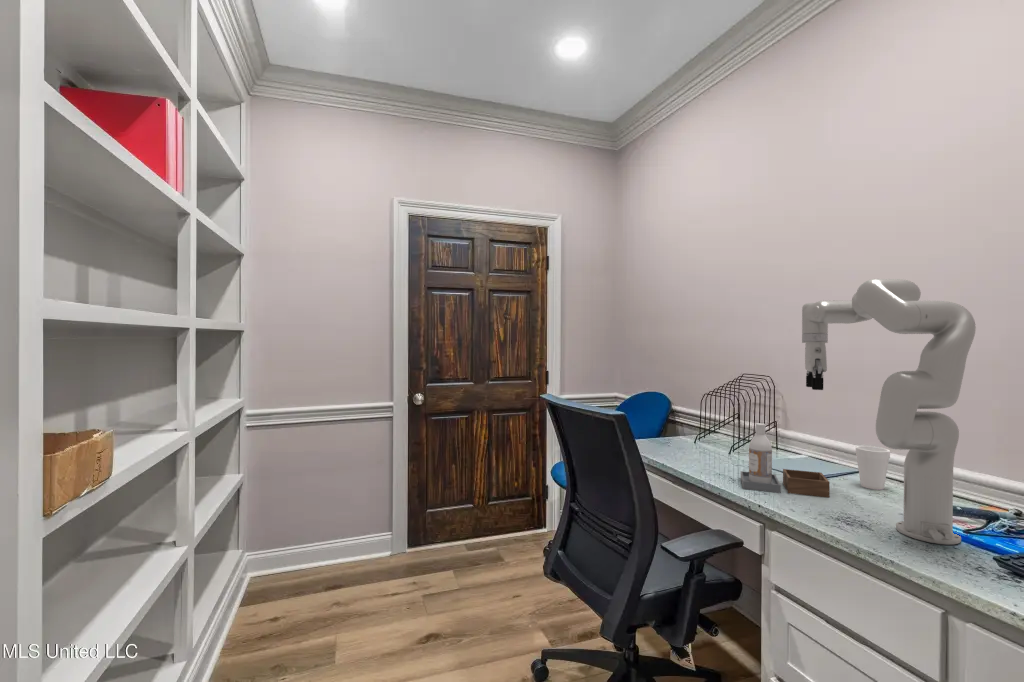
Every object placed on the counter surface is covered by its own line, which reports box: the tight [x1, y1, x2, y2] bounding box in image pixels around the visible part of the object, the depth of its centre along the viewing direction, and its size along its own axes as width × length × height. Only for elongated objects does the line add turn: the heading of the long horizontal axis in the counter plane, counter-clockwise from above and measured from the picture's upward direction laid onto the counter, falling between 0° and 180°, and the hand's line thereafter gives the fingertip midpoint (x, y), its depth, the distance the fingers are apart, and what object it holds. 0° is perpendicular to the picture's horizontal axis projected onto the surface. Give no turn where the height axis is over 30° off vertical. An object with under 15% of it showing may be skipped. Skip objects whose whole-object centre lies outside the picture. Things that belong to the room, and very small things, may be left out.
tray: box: [740, 470, 782, 494], centre depth 163 cm, size 13×11×3 cm
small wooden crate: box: [782, 468, 831, 498], centre depth 158 cm, size 11×11×5 cm
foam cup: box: [855, 445, 891, 491], centre depth 162 cm, size 10×9×13 cm
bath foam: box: [748, 422, 773, 484], centre depth 163 cm, size 7×7×20 cm
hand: (814, 388), depth 164 cm, fingers open, 9 cm apart
